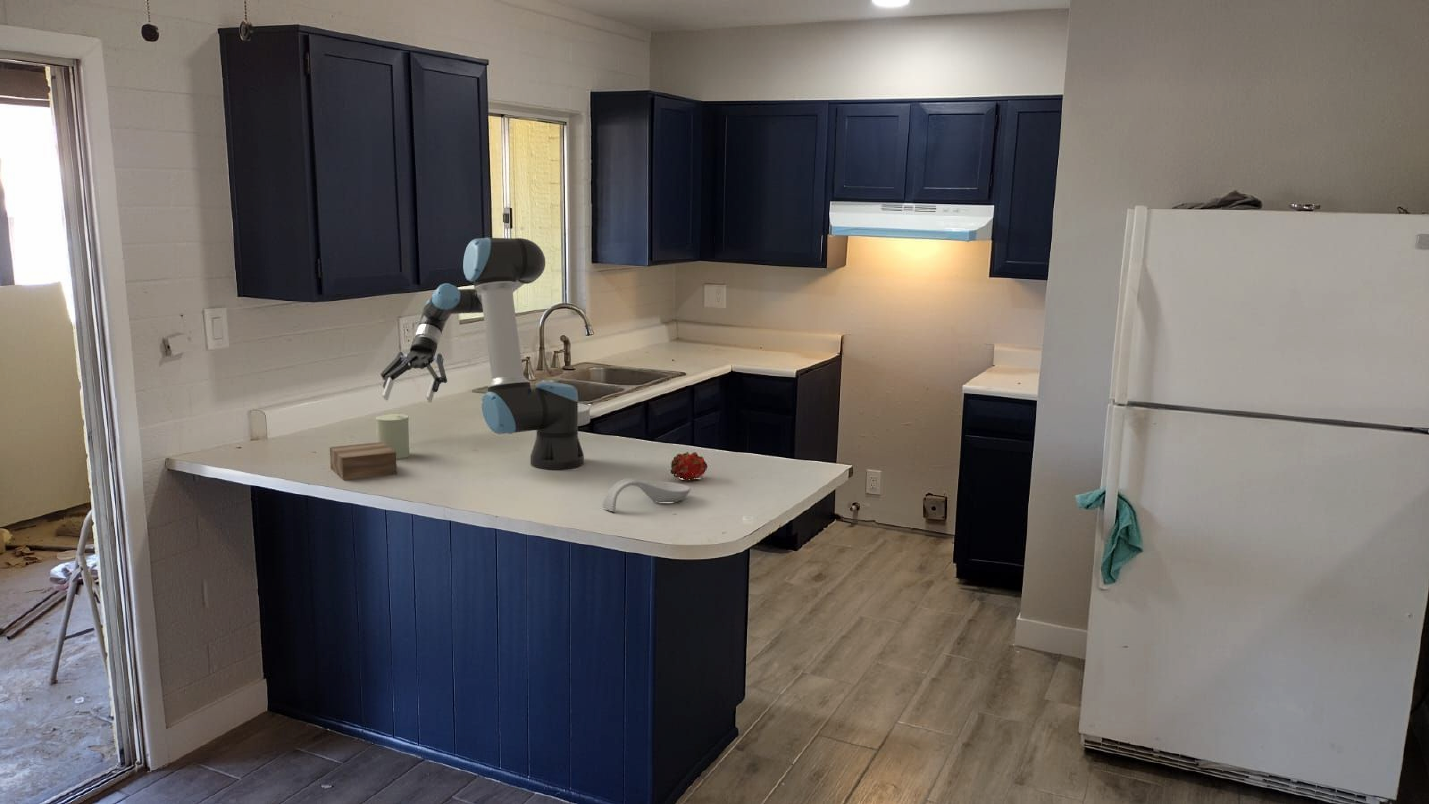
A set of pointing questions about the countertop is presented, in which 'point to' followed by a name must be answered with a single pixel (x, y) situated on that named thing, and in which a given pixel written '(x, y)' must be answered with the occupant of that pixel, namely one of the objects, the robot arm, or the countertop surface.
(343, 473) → the walnut block
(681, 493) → the spoon rest
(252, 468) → the countertop surface
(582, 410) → the dish
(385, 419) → the can
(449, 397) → the countertop surface
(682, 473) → the red bumpy oval piece
